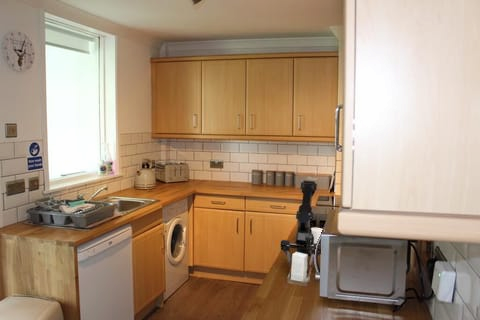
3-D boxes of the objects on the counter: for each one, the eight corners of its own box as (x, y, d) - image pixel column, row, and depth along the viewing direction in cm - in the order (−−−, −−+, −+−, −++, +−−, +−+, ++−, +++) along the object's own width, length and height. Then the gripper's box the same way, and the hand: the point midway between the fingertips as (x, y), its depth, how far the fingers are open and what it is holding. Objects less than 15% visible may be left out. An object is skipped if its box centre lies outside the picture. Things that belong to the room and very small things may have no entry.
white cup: (323, 250, 232) (324, 232, 231) (308, 248, 234) (309, 231, 232) (323, 245, 240) (324, 228, 239) (308, 243, 241) (310, 226, 240)
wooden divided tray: (291, 267, 206) (292, 264, 206) (311, 270, 204) (311, 267, 204) (286, 283, 189) (286, 279, 189) (308, 286, 187) (308, 283, 186)
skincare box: (306, 279, 193) (308, 254, 191) (302, 282, 189) (304, 257, 187) (294, 276, 196) (295, 251, 194) (290, 279, 192) (292, 254, 190)
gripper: (282, 222, 194) (277, 254, 185) (323, 227, 190) (321, 259, 181) (283, 234, 203) (278, 264, 194) (322, 238, 199) (320, 270, 190)
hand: (299, 264), depth 190 cm, fingers open, 9 cm apart
